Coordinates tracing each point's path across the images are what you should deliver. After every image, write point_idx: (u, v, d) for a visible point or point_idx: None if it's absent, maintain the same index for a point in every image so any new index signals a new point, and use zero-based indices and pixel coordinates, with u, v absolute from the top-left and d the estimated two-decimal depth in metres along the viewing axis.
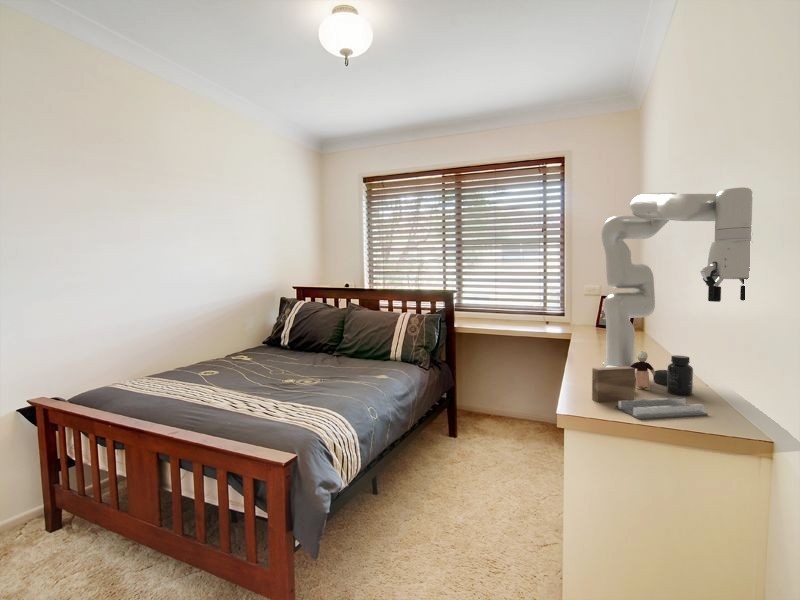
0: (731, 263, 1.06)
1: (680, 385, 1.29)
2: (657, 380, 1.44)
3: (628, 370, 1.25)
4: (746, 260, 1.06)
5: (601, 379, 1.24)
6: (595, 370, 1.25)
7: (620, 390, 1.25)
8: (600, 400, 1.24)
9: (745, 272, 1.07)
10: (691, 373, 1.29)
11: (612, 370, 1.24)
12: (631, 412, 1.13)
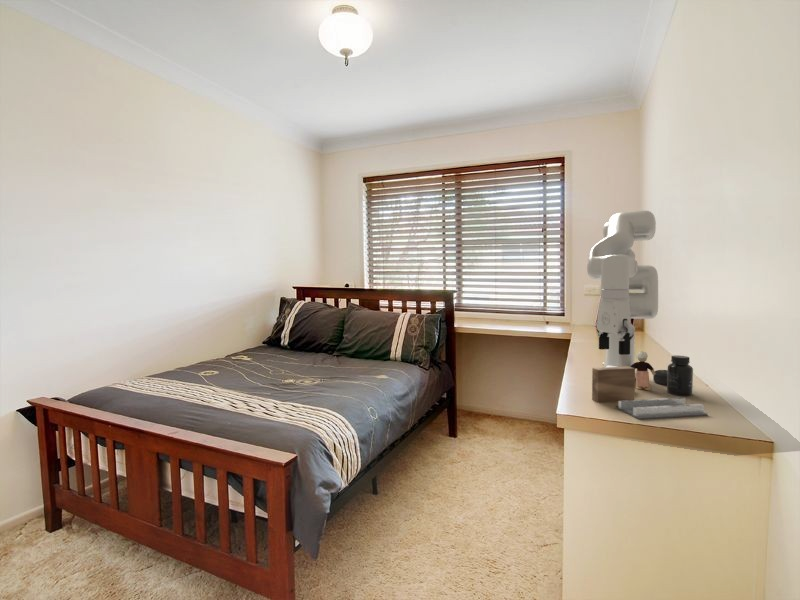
0: None
1: (680, 385, 1.29)
2: (657, 380, 1.44)
3: (628, 370, 1.25)
4: None
5: (601, 379, 1.24)
6: (595, 370, 1.25)
7: (620, 390, 1.25)
8: (600, 400, 1.24)
9: None
10: (691, 373, 1.29)
11: (612, 370, 1.24)
12: (631, 412, 1.13)
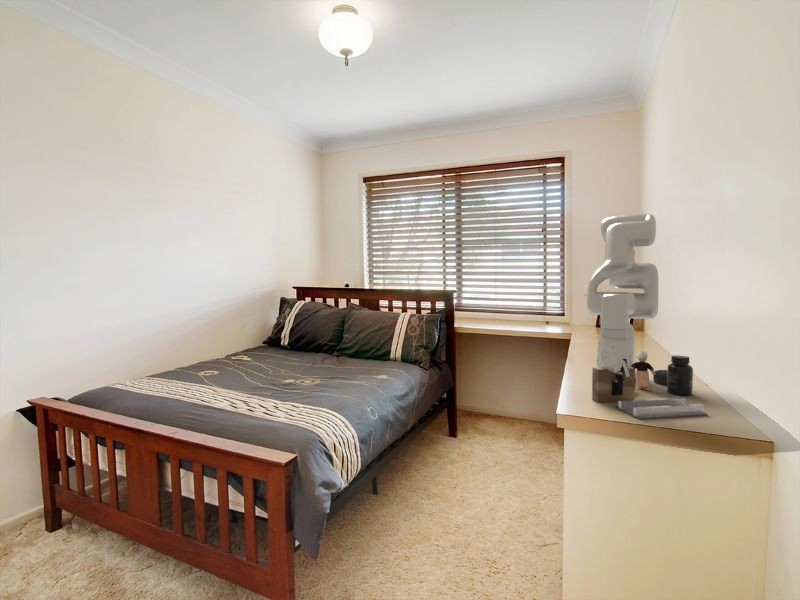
0: None
1: (680, 385, 1.29)
2: (657, 380, 1.44)
3: None
4: None
5: (601, 379, 1.24)
6: (595, 370, 1.25)
7: None
8: (600, 400, 1.24)
9: None
10: (691, 373, 1.29)
11: None
12: (631, 412, 1.13)
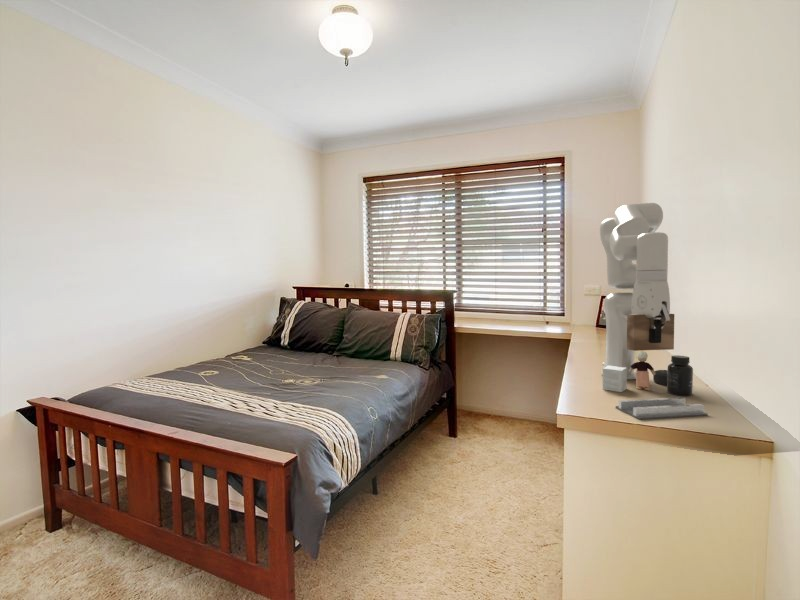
0: None
1: (680, 385, 1.29)
2: (657, 380, 1.44)
3: None
4: None
5: (637, 325, 1.14)
6: (630, 316, 1.15)
7: None
8: (636, 348, 1.14)
9: None
10: (691, 373, 1.29)
11: None
12: (631, 412, 1.13)
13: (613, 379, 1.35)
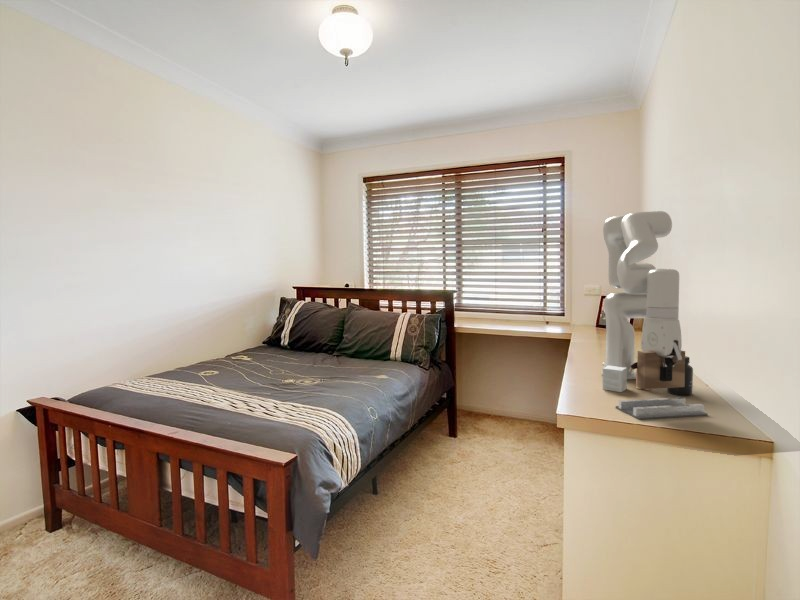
0: None
1: None
2: None
3: None
4: None
5: (648, 363, 1.12)
6: (641, 353, 1.13)
7: None
8: (647, 386, 1.12)
9: None
10: (691, 373, 1.29)
11: None
12: (631, 412, 1.13)
13: (613, 379, 1.35)
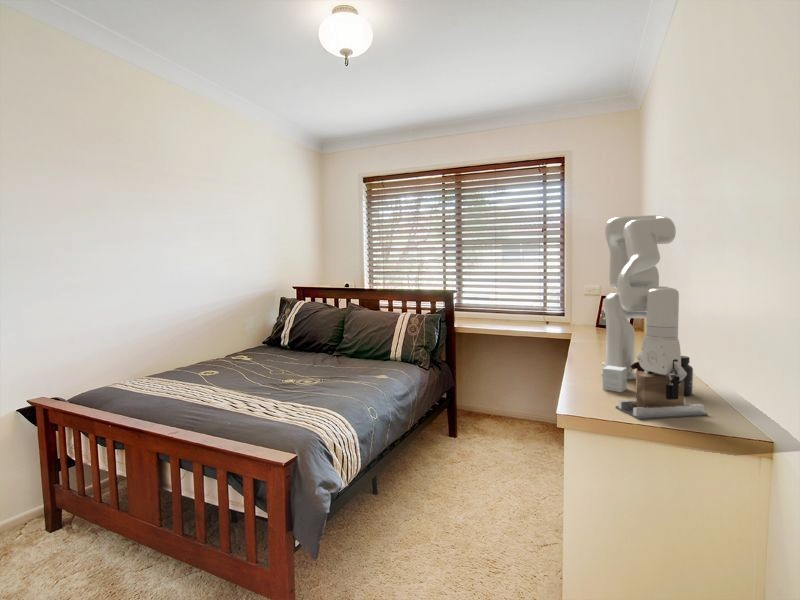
0: None
1: None
2: None
3: None
4: None
5: (647, 387, 1.13)
6: (641, 377, 1.14)
7: None
8: None
9: None
10: (691, 373, 1.29)
11: (660, 377, 1.13)
12: (631, 412, 1.13)
13: (613, 379, 1.35)
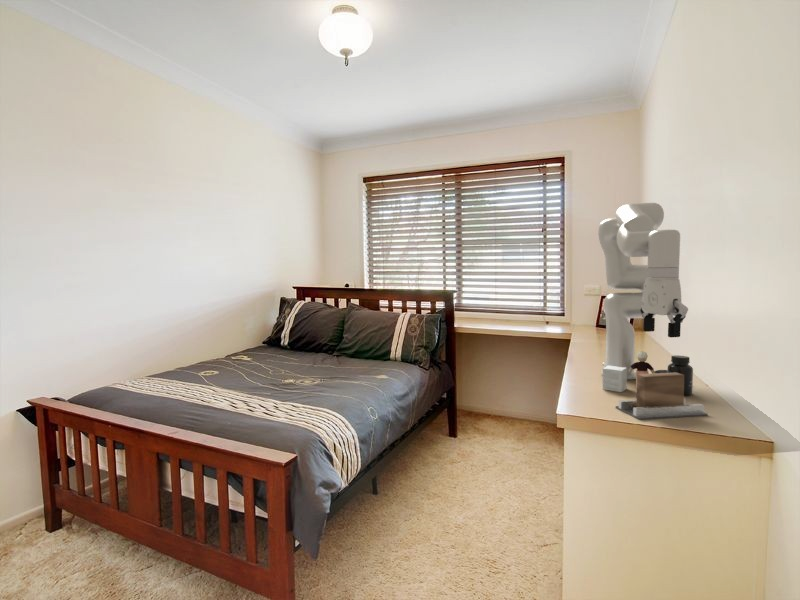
0: None
1: None
2: None
3: (677, 377, 1.13)
4: None
5: (647, 387, 1.13)
6: (641, 377, 1.14)
7: (668, 398, 1.13)
8: None
9: None
10: (691, 373, 1.29)
11: (660, 377, 1.13)
12: (631, 412, 1.13)
13: (613, 379, 1.35)
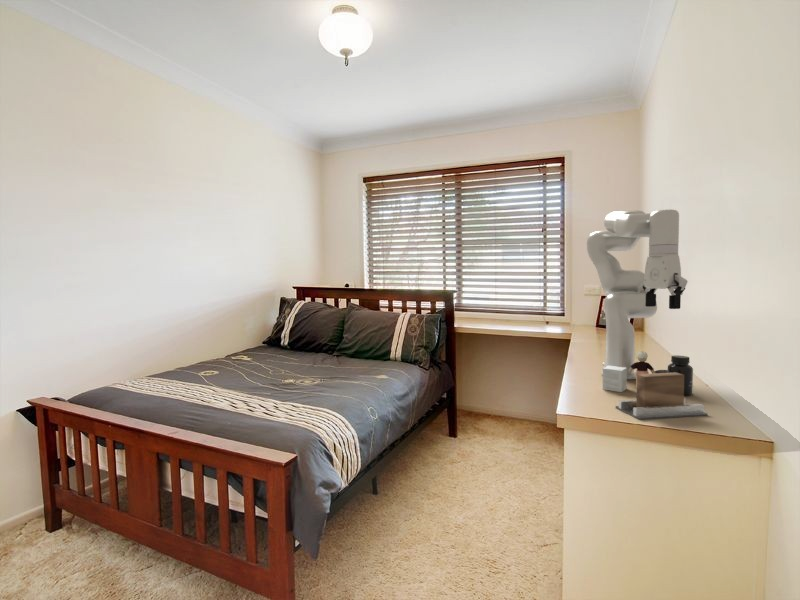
0: None
1: None
2: None
3: (677, 377, 1.13)
4: None
5: (647, 387, 1.13)
6: (641, 377, 1.14)
7: (668, 398, 1.13)
8: None
9: None
10: (691, 373, 1.29)
11: (660, 377, 1.13)
12: (631, 412, 1.13)
13: (613, 379, 1.35)
